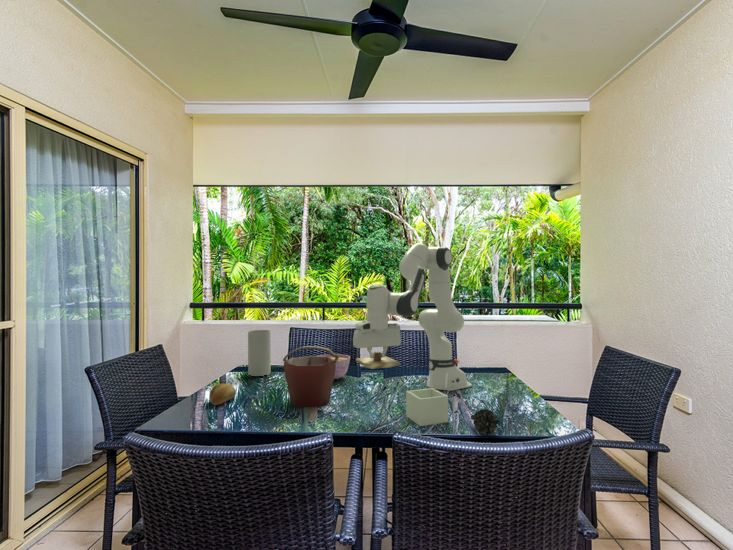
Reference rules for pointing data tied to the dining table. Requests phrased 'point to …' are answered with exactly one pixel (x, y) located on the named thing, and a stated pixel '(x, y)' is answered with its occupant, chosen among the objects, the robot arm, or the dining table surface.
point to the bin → (427, 406)
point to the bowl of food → (340, 364)
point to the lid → (377, 361)
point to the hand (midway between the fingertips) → (377, 357)
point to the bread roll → (222, 393)
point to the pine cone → (485, 421)
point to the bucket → (310, 378)
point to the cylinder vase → (259, 353)
